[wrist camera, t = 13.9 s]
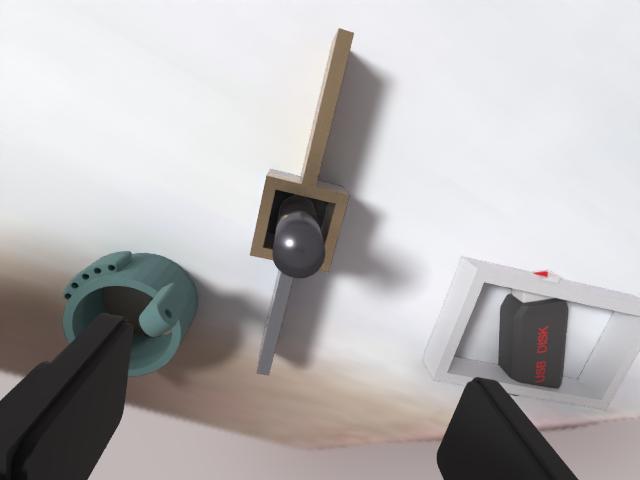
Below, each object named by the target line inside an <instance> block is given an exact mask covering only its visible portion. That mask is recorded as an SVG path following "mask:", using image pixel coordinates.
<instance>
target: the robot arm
mask: <svg viewBox="0 0 640 480" xmlns="http://www.w3.org/2000/svg"><path fill="white" fill-rule="evenodd" d="M132 337H133V324H129V323H127V318H126V317H123V316H117V315H111V314H105V313H101V314H100V315H98V316H97V317H96V318H95V319H94V320H93V321H92V322H91V323H90V324H89V325H88V326H87V327H86V328H85V329H84V330H83V331H82V332H81V333H80V334H79V335H78V336H77V337H76V338H75V339H74V340H73V341H72V342H71V343H70V344H69V345H68V346H67V347H66V348H65V349H64V350H63V351H62V352H61V353H60V354H59V355H58V356H57V357H56V358H55V359H54V360H53V361H52V362H47V361H46V362H42V363H40V364H39V365H38V366H36V367H35V368H34V369H33V370H32V371H31V372H30V373H29V374H28V375H27V376H26V377H25V378H24V379H23V380H22V381H21V382H19V383H18V384H17V386H15V388H13V389H12V390H11V391H10V392H9V393H8V394H7V395H6V396H5V397H4V398H3V399H2V400H1V401H0V480H87V479H88V477H89V476H90V474H91V472H92V471H93V469H94V467H95V465H96V464H97V462H98V460H99V458H100V457H101V455H102V453H103V451H104V449H105V448H106V446H107V444H108V442H109V440H110V439H111V437H112V435H113V434H114V432H115V430H116V428H117V427H118V425H119V423H120V420H121V418H122V414H123V410H124V403H125V395H126V387H127V378H128V370H129V362H130V354H131V345H132ZM437 464H438V467H439V469H440V472H441V474H442V476H443V479H444V480H578V479H577V477H576V476H575V475H574V474H573V473H572V471H571V470H570V469H569V468H568V466H567V465H566V464H565V463H564V462H563V460H562V459H561V458H560V457H559V455H558V454H557V453H556V452H555V450H554V449H553V448H552V447H551V446H550V444H549V443H548V442H547V441H546V439H545V438H544V437H543V436H542V435H541V433H540V432H539V431H538V430H537V428H536V427H535V426H534V425H533V424H532V422H531V421H530V420H529V419H528V417H527V416H526V415H525V414H524V413H523V411H522V410H521V409H520V408H519V406H518V405H517V404H516V403H515V401H514V400H513V399H512V398H511V397H510V395H509V394H508V393H507V392H506V390H505V389H504V388H503V387H502V386H501V384H500V383H499V382H498V381H496V380H492V379H486V378H480V377H475V378H474V379H473V380H472V381H469V382H468V383H467V385H466V386H465V389H464V391H463V393H462V396H461V398H460V400H459V403H458V405H457V407H456V410H455V412H454V414H453V417H452V419H451V421H450V424H449V426H448V428H447V431H446V433H445V435H444V438H443V440H442V442H441V444H440V447H439V449H438V452H437Z"/></svg>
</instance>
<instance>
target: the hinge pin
mask: <svg viewBox="0 0 640 480" xmlns="http://www.w3.org/2000/svg"><path fill="white" fill-rule="evenodd" d="M324 259H325V247H324V243H323V239H322V235H321V231H320V227H319V224H318V220H317V216H316V212H315V208H314V206H313V204H312V202H311V201H310V200H309V199H307V198H306V197H303V196H299V195H296V196H291V197H289V198H287V199H285V200H284V201H283V203H282V204H281V206H280V209H279V215H278V221H277V227H276V233H275V239H274V245H273V260H274V263H275V265H276V267H277V268H278V269H279V270H280V271H281V272H282V273H283V274H285V275H287V276H289V277H293V278H305V277H308V276H311V275H313V274H314V273H316V272H317V271H318V270H319V269H320V268H321V266H322V264H323V262H324Z"/></svg>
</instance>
